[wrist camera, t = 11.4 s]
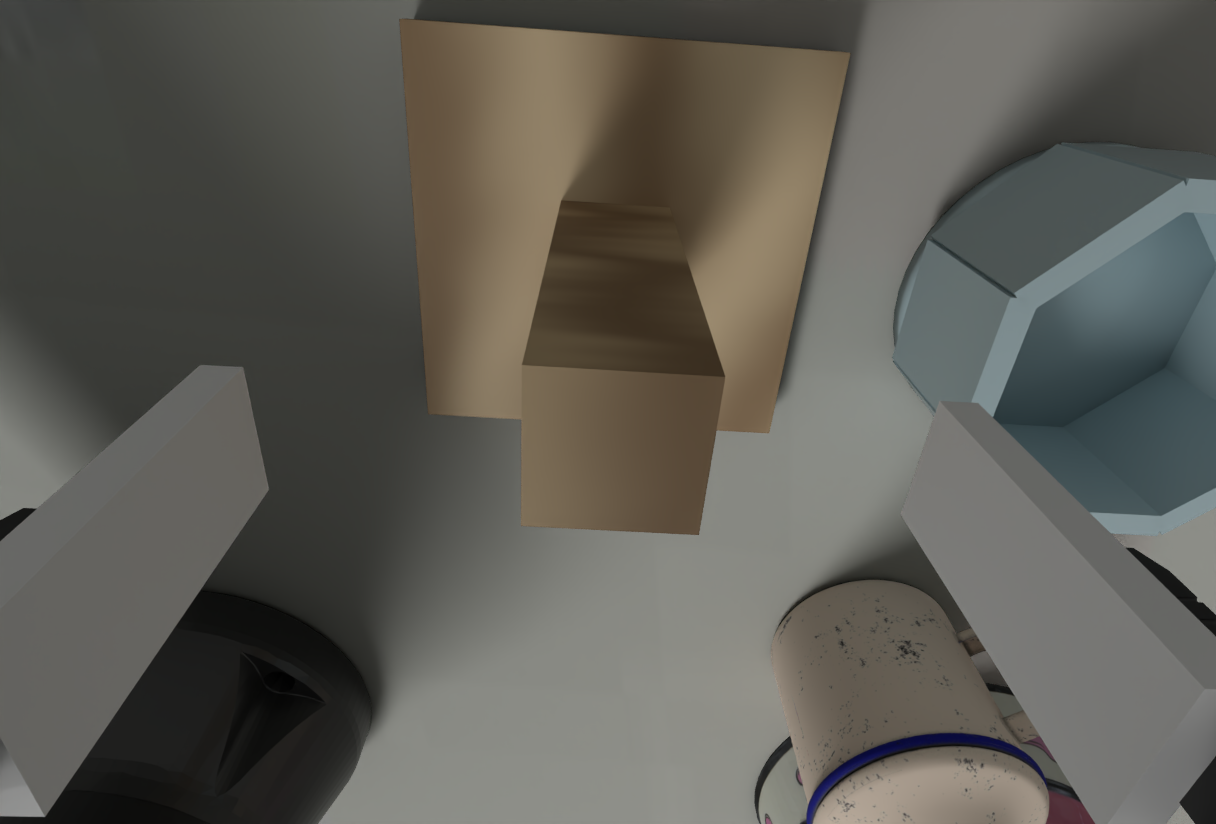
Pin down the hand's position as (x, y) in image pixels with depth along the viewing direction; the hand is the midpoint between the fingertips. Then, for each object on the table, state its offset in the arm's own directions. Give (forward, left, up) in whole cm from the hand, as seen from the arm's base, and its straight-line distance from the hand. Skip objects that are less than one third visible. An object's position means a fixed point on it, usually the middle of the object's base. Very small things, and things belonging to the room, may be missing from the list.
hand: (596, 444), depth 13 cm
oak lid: (0, 0, -12) cm, 12 cm away
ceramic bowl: (+16, -1, -13) cm, 21 cm away
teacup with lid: (+15, -18, -13) cm, 27 cm away
